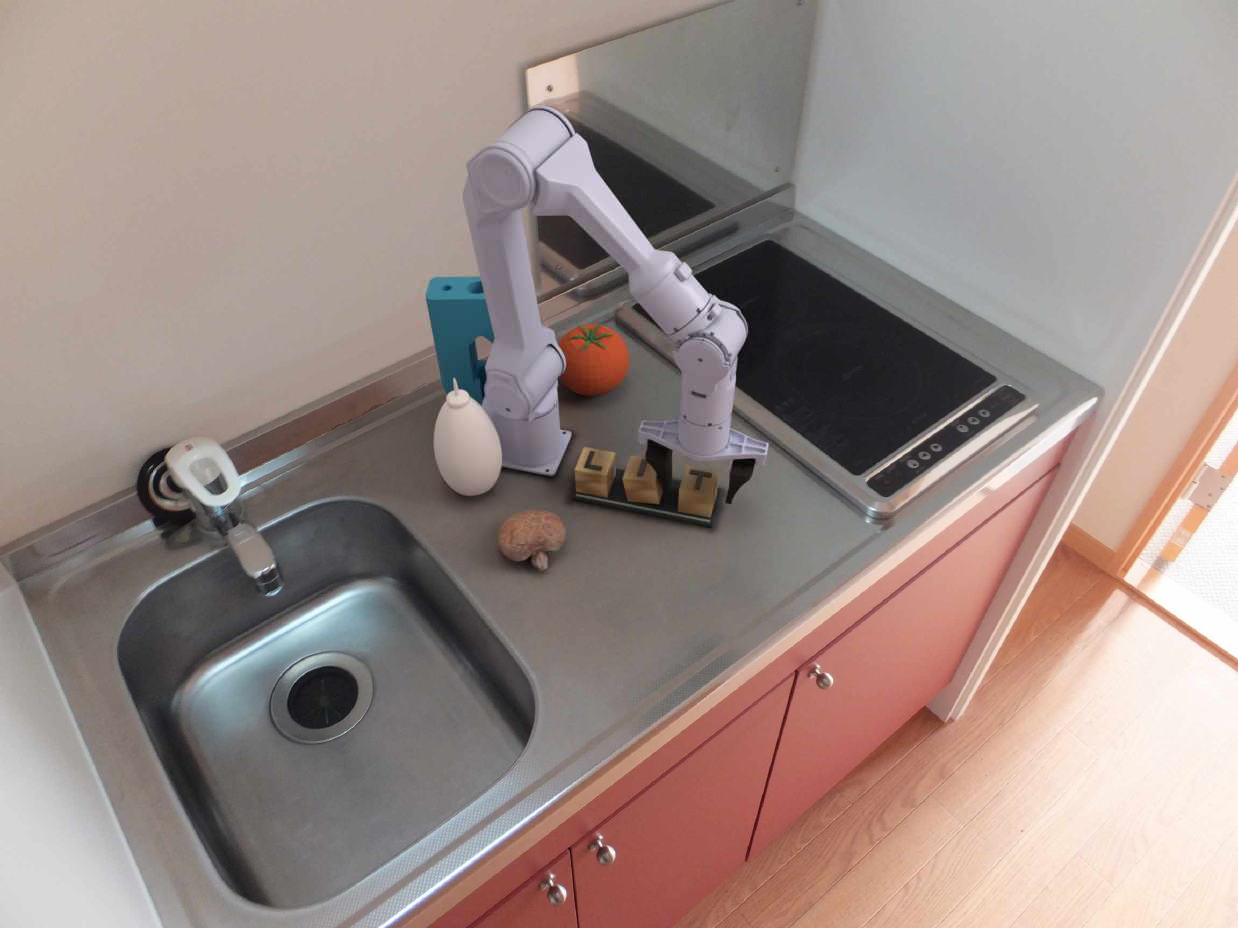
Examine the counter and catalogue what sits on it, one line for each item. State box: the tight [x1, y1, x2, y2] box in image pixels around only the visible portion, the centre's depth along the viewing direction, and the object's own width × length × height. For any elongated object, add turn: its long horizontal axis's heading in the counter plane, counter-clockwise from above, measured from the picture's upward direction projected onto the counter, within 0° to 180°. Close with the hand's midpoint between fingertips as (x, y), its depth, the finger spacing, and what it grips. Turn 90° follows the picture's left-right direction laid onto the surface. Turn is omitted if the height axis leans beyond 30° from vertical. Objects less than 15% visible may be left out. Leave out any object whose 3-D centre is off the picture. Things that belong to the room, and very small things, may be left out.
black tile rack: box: [571, 468, 722, 529], centre depth 107 cm, size 17×6×1 cm, turn 75°
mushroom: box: [497, 509, 567, 572], centre depth 100 cm, size 8×6×8 cm
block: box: [425, 275, 495, 406], centre depth 111 cm, size 12×5×20 cm, turn 90°
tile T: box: [678, 465, 720, 518], centre depth 104 cm, size 4×4×4 cm
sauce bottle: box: [433, 378, 502, 497], centre depth 102 cm, size 8×8×18 cm
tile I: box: [623, 454, 663, 504], centre depth 105 cm, size 4×4×4 cm
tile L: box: [574, 446, 617, 498], centre depth 107 cm, size 4×4×4 cm
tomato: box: [557, 322, 631, 397], centre depth 118 cm, size 10×10×10 cm
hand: (698, 491), depth 104 cm, fingers open, 7 cm apart
